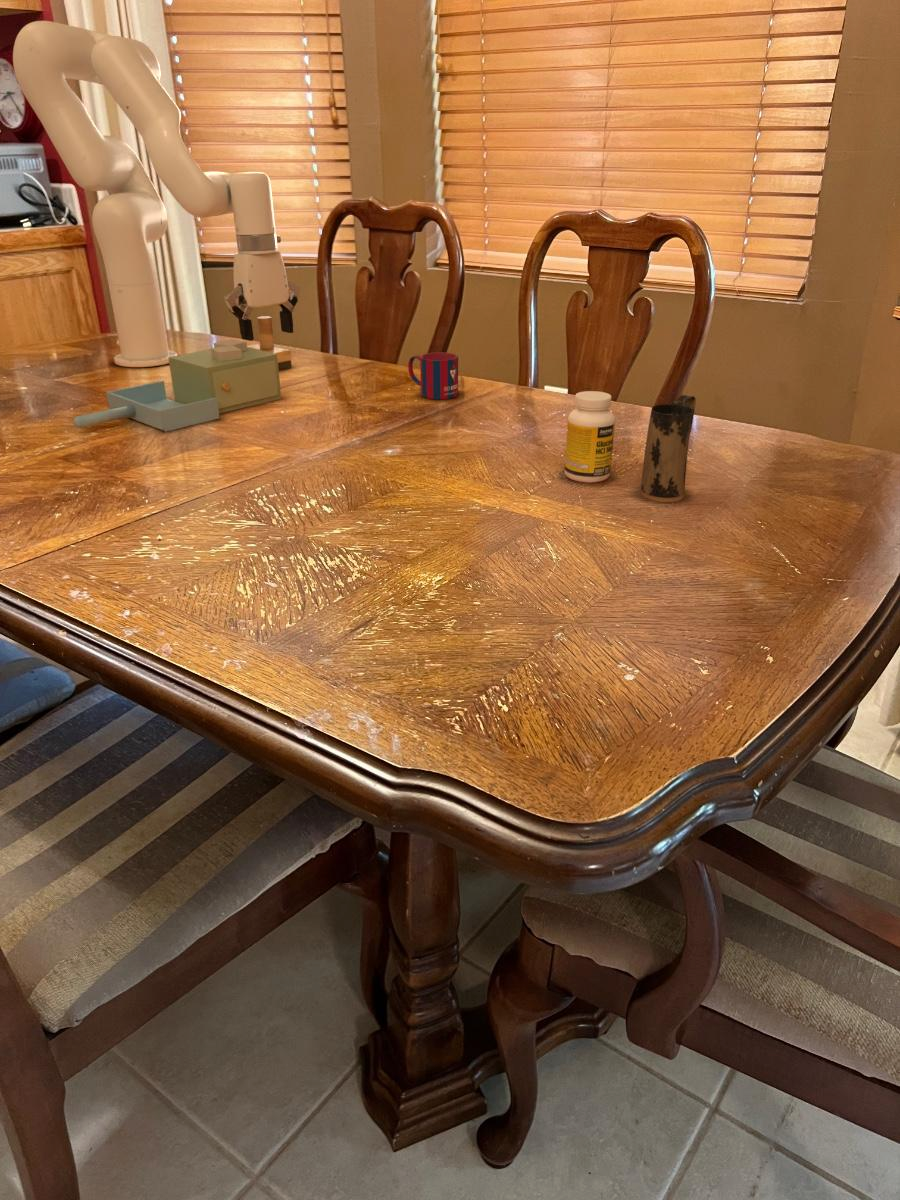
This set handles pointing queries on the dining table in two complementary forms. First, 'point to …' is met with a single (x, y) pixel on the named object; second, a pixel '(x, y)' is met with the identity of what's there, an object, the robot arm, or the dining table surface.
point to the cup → (437, 375)
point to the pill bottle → (590, 438)
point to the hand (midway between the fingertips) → (268, 335)
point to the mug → (667, 450)
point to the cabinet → (226, 379)
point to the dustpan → (151, 409)
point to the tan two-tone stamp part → (271, 343)
